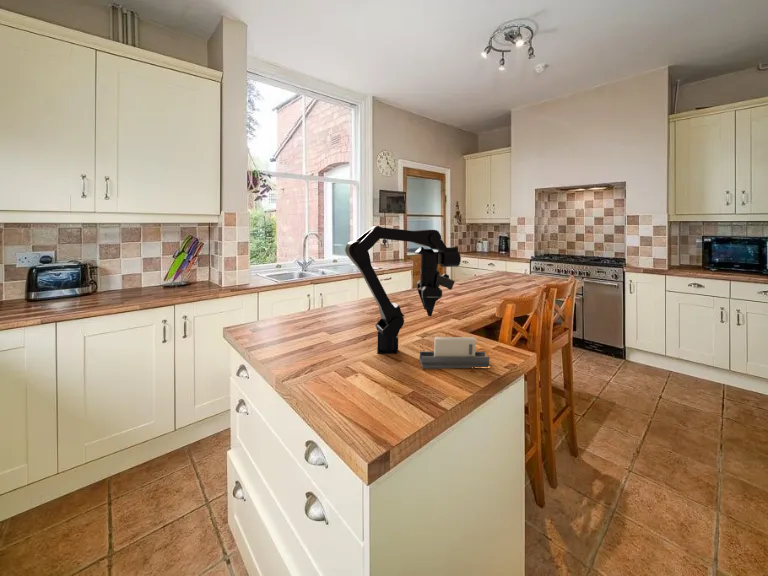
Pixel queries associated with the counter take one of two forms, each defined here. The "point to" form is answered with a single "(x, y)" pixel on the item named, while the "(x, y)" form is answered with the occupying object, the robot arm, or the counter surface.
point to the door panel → (454, 346)
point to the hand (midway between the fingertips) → (427, 312)
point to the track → (453, 360)
